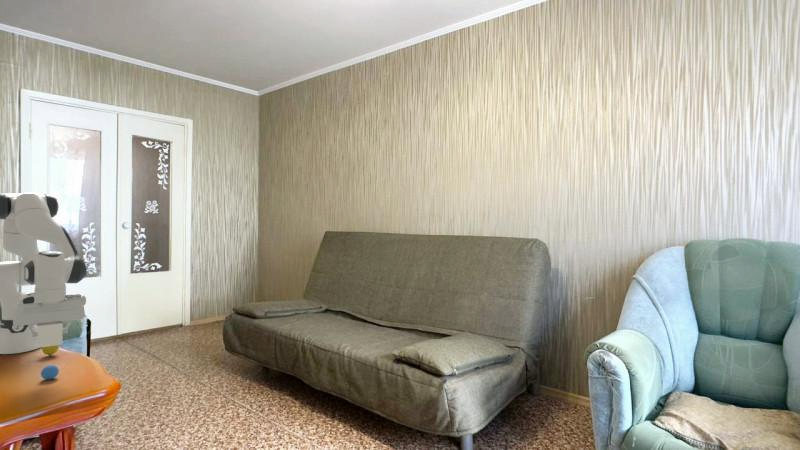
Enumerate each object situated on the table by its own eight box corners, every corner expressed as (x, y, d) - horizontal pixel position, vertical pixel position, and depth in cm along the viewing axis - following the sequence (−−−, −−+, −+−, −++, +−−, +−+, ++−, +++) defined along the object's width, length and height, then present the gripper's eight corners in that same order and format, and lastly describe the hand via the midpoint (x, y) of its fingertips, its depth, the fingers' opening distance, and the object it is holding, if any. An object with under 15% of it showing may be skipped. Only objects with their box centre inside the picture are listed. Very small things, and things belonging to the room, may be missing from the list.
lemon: (44, 358, 180) (44, 339, 180) (40, 356, 184) (40, 337, 184) (60, 355, 185) (60, 336, 185) (56, 353, 188) (56, 334, 188)
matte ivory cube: (37, 342, 158) (38, 321, 158) (62, 339, 163) (62, 319, 162) (37, 347, 153) (37, 326, 153) (62, 344, 157) (62, 323, 157)
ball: (40, 372, 153) (40, 383, 155) (58, 369, 157) (58, 380, 158) (41, 363, 157) (41, 375, 159) (58, 361, 160) (58, 372, 162)
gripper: (85, 292, 166) (85, 328, 166) (13, 297, 154) (13, 337, 154) (86, 294, 161) (86, 332, 161) (12, 300, 149) (12, 341, 149)
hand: (50, 334), depth 157 cm, fingers closed on matte ivory cube, 7 cm apart
